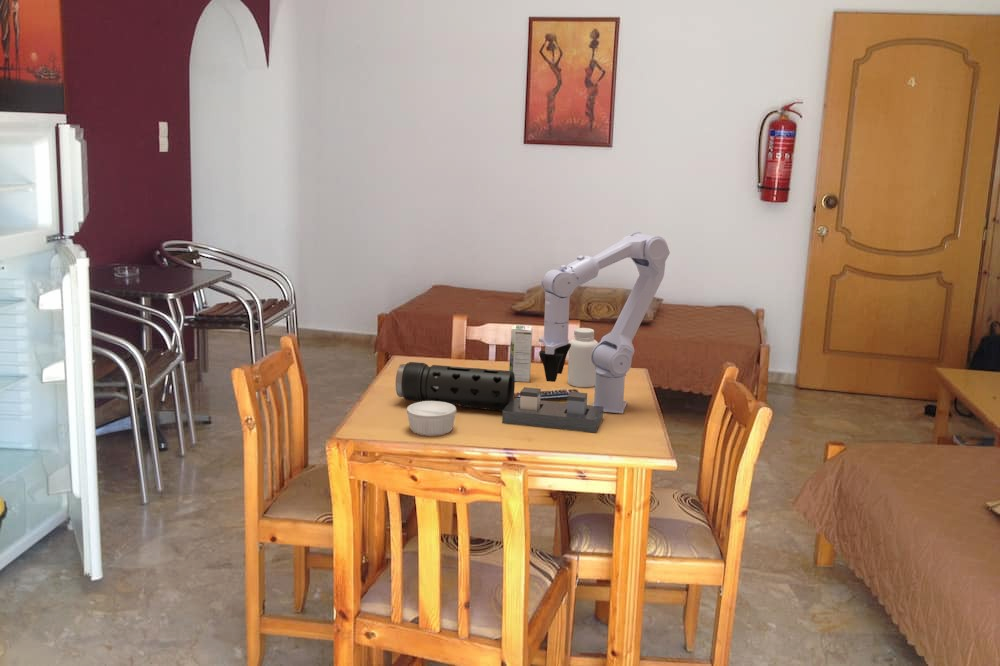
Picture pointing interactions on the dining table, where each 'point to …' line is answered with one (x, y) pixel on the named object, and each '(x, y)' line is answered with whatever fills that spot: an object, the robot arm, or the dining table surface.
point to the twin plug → (577, 403)
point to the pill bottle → (581, 358)
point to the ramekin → (431, 417)
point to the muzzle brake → (456, 385)
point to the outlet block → (553, 416)
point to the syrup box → (521, 352)
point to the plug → (530, 398)
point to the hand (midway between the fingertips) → (554, 377)
